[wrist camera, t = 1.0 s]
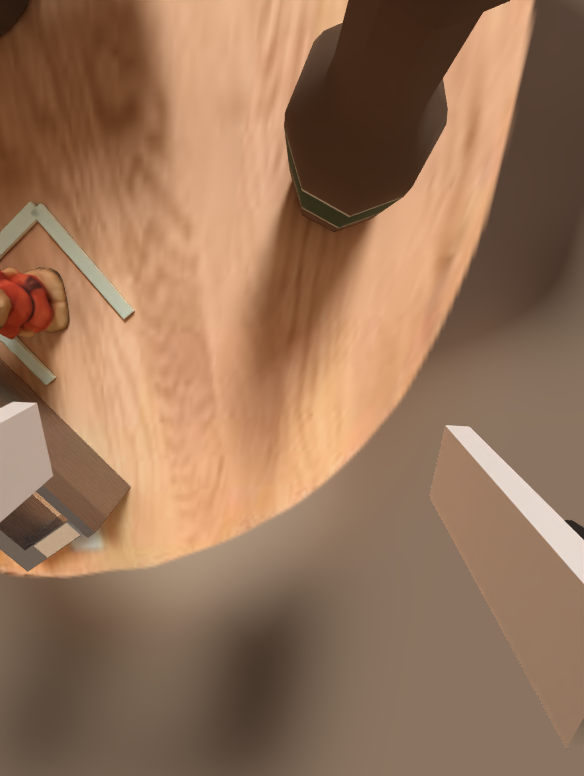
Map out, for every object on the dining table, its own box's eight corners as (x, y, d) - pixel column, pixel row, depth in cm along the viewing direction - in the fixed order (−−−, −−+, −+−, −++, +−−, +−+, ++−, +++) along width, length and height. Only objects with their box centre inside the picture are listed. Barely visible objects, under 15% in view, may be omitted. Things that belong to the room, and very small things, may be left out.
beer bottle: (378, 237, 30) (632, 140, 7) (287, 230, 30) (238, 111, 7) (394, 128, 27) (882, -603, 4) (294, 120, 27) (252, -647, 4)
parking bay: (-49, 286, 32) (-53, 286, 31) (37, 197, 29) (34, 196, 29) (48, 383, 35) (45, 385, 34) (134, 310, 32) (132, 311, 32)
